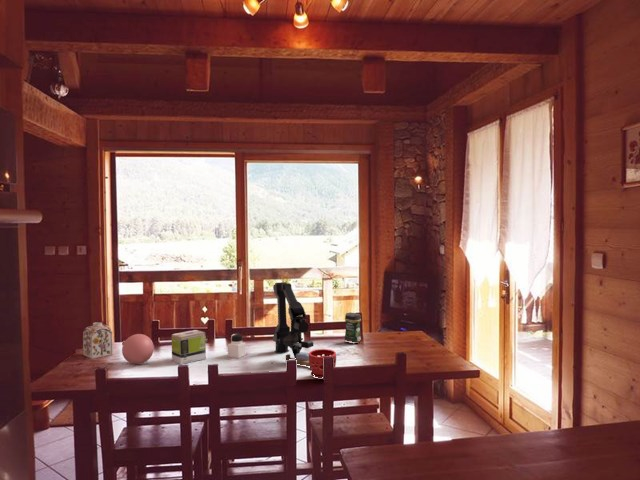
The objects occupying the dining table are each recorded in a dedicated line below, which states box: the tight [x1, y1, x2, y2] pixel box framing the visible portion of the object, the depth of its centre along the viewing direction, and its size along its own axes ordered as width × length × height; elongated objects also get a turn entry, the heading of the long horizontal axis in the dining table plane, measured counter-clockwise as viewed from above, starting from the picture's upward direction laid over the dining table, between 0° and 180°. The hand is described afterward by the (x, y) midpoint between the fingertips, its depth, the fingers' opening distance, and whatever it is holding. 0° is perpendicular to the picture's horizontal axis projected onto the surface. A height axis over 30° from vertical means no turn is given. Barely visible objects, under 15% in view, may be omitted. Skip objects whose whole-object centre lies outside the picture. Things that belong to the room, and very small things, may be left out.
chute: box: [285, 353, 325, 366], centre depth 251 cm, size 18×11×4 cm, turn 58°
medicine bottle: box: [227, 333, 247, 359], centre depth 265 cm, size 7×7×12 cm
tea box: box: [171, 329, 207, 365], centre depth 257 cm, size 15×10×15 cm, turn 134°
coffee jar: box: [344, 312, 362, 342], centre depth 296 cm, size 10×8×19 cm
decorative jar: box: [82, 322, 114, 360], centre depth 265 cm, size 12×12×18 cm
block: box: [296, 351, 309, 361], centre depth 252 cm, size 8×6×5 cm
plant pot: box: [308, 348, 337, 378], centre depth 229 cm, size 13×13×12 cm
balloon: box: [121, 333, 155, 365], centre depth 251 cm, size 15×20×15 cm
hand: (295, 358), depth 255 cm, fingers closed
